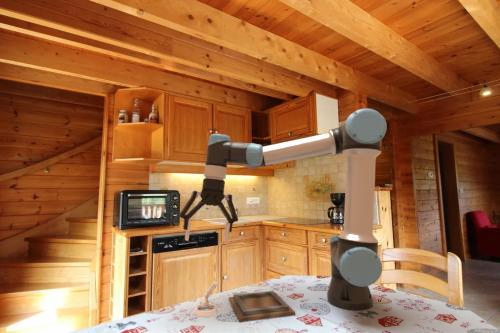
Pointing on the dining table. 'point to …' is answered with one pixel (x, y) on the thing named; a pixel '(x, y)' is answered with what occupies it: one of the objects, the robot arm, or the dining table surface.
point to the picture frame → (259, 306)
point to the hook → (206, 304)
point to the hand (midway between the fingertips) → (206, 240)
